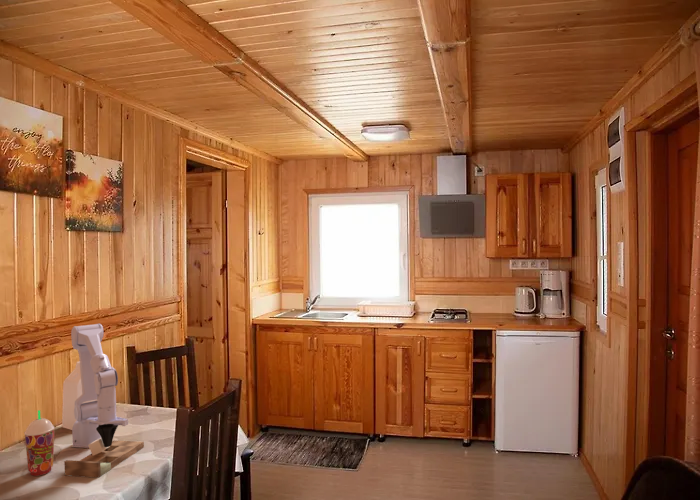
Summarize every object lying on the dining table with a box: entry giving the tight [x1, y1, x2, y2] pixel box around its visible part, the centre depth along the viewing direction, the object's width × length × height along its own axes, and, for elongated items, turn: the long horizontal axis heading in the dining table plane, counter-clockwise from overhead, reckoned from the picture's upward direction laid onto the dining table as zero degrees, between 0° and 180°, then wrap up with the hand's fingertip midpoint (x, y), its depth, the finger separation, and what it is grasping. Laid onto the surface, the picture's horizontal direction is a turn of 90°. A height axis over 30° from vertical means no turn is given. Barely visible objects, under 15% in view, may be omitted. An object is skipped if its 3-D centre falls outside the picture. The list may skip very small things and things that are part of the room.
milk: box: [61, 361, 97, 431], centre depth 209 cm, size 12×12×26 cm
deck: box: [63, 440, 145, 478], centre depth 171 cm, size 12×24×4 cm, turn 170°
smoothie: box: [23, 409, 56, 477], centre depth 164 cm, size 8×8×20 cm
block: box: [88, 438, 110, 456], centre depth 173 cm, size 4×4×4 cm
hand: (108, 445), depth 172 cm, fingers closed
